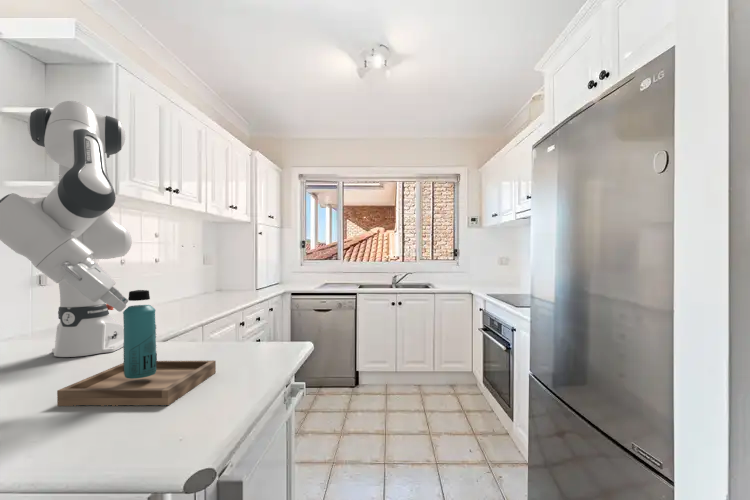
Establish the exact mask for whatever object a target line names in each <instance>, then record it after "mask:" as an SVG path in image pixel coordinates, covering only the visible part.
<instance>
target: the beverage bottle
mask: <svg viewBox="0 0 750 500" xmlns="http://www.w3.org/2000/svg"><path fill="white" fill-rule="evenodd" d="M127 299H128V302H131V301H132V302H135V301H136V302H138V301H149V300H151V296H150V290H147V289H146V290H145V289H137V290H130V291H129V292H128V298H127ZM123 310H124V311H122V316H123V329H124V343H123V345H124V347H123V348H122V349H123V363H124V364H123V365H124V369H123V370H124V372H123V374H124V376H125V377H126V378H130V379H134V378H143V377H148V376H151V375H154V374H155V373H156V368H157V367H156V362H157V361H158V359H157V358H158V356H157V353H158V351H157V333H156V332H157V324H156V309H155V308H154V307H153V306H152V305H150V304H137V305H129V306H127V308H124V309H123Z"/></svg>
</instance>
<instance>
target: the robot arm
mask: <svg viewBox="0 0 750 500" xmlns="http://www.w3.org/2000/svg"><path fill="white" fill-rule="evenodd" d="M26 125H27V131H28V134H29V136H30V138H31V140H32V141H33V142H34V143H35V144H36V145H38V146H40V147H43V148H44V149H45V152H46V154H47V155H48V157H49V158H50V159H51V160H52V161H54V162H55V164H58V175H59V176H58V183H57V184H56V186H55V187H54V188H53V189H52V190H51V191H50V192H49V193H48V195H46V196H42V197H26V196H25V197H24V196H21V195H19V194H17V193H12V192H11V193H9V194H7V195H5V196H3V197H2V198H0V241H1V242H2V243H3V244H5V246H7V247H8V248H10V249H11V250H12V251H13V252H15V253H16V254H18V255H21V256H23V257H25V258H26V259H28V261H30V262H31V264H32V265H33V266H34V268H36V269H37V270H39V271H40V272H41V273H42V274H43V275H45V276H46V277H47V278H49V279H50V280H52V281H53V282H54V283H56V284H58V289H59V302H60V304H59V305H60V306H58V312H57V315H58V318H57V319H59V323H58V324H57V326H56V333H55V341H54V347H53V348H52V350H51V353H52V354H53V356H54V357H58V358H70V357H71V358H74V357H76V358H77V357H84V356H91V355H97V354H105V353H113V352H116V351H117V350H119V349H123V348H124V345H123V343H124V325H123V324H121V323H120V322H118V321H117V320H116V319H114V318H113V317H112V316H111V315H110V312H109V311H113V310H116V311H118V312H119V313H121V312H123V310H125V309H126V307H127V303H128V302H129V300H128V298H127V297H126V296H124V295H123V294H122V293H121V292H120V291H119V289H117V288H116V287H114V286H115V285H116V282H115V280H114V278H112V276H111V275H110V274H109V273H108V272H107V271H105V270H104V269H103V267H102V266H100V265H99V264H98V263H97V262H96V261H95V260H110V259H111V260H112V259H116V258H121V257H125V256H126V255H127V254H128V253H129V252H130V250H131V247H132V241H133V240H132V236H131V234H130V232H129V230H128V229H127V228H125V227H124V226H123V225H121V224H120V223H119V222H118V221H116V220H115V218H114V217H113V216H112V215H111V213H110V211H109V210H110V209H111V208H112V207H113V206H114V205H115V202H116V197H117V196H116V193H115V189H114V187H113V184H112V183H111V179H110V178H109V175H108V170H107V169H108V168H107V161H106V159H108V158H110V157H111V156H112V155H115V154H117V153H119V152H121V150H122V148H123V147H124V144H125V142H126V131H125V129H124V127H123V125H122V123H121V121H120V120H119V119H117V118H115V117H114V116H113V117H112V116H109V115H106V116H105V115H100V114H96V113H95V112H94V111H93V110H92V109H91V107H90V106H88V105H86V104H85V103H82V102H80V101H76V100H65V101H62V102H60V103H58V104H57V105H56V106H55V107H54V108H53V109H51V108H49V107H43V108H42V107H41V108H39V107H38V108H36V109H34V110H32V111H31V112H30V115H29V116H28V119H27V124H26Z"/></svg>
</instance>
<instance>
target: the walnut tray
mask: <svg viewBox="0 0 750 500" xmlns="http://www.w3.org/2000/svg"><path fill="white" fill-rule="evenodd" d="M123 364H124V362H121V363H120V364H118V365H115V366H112V367H110V368H108V369H105V370H103V371H101V372H97V373H95V374H93V375H91V376H88V377H86V378H83V379H82V380H79V381H76V382H75V383H72V384H70V385H68V386H67V385H66V386H65V387H62V388H59V389H57V392H56V395H57V397H56V399H57V402H56V405H57V407H59V406H60V407H77V406H76V405H101V406H100V407H105V406H104V405H107V406H106V407H109V406H108V405H112V406H111V407H119V406H118V405H169V404H170V405H172V404H173V403H174V402H176V401H177V400H179V399H180V398H182V397H183V396H185V395H186V394H188V393H189V392H190V391H192V390H193V389H195V388H196V387H197V386H199V385H200V384H202V383H204V381H206V380H207V379H210V377H212V376H213V375H215V374H216V372H217V371H216V369H217V367H216V366H217V364H216V360H157V362H156V367H157V368H156V373H155V374H154V375H151V376H148V377H143V378H134V379H130V378H126V377H125V376H124V374H123V372H124V370H123V369H124V365H123ZM178 398H179V399H178ZM175 400H176V401H175ZM171 403H172V404H171ZM73 405H74V406H73ZM115 405H116V406H115ZM170 405H169V406H170Z"/></svg>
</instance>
